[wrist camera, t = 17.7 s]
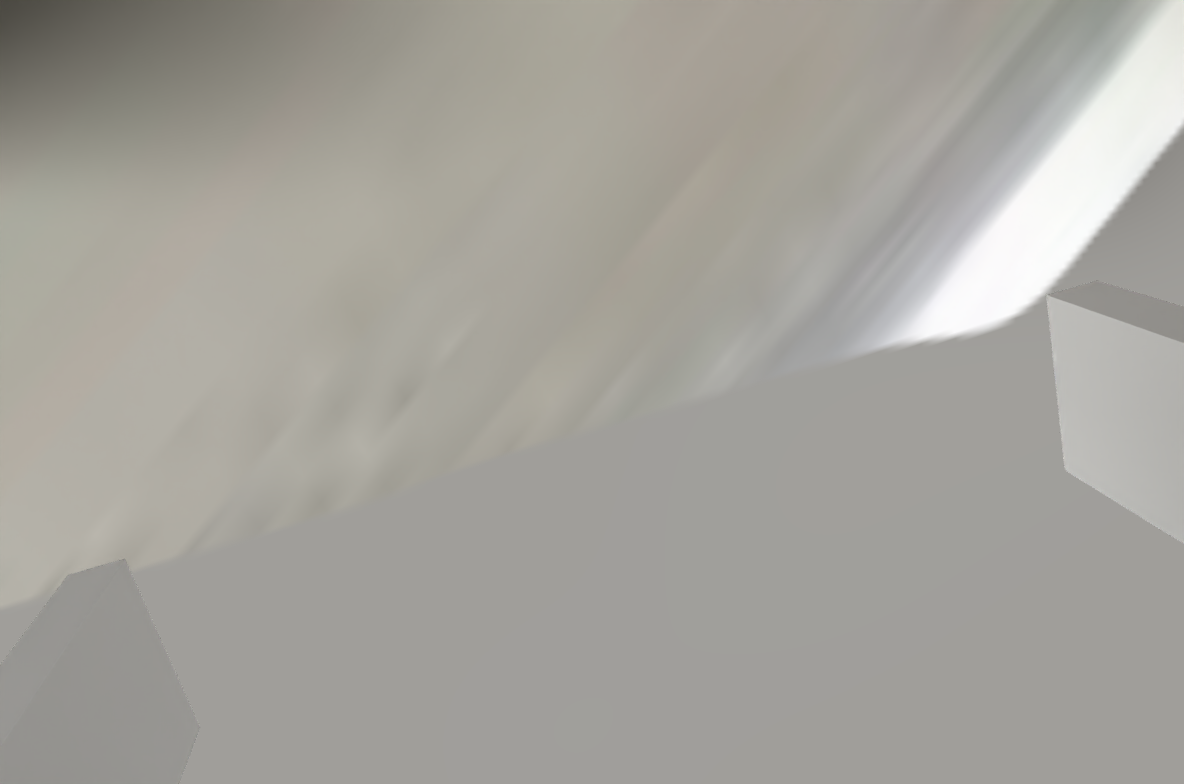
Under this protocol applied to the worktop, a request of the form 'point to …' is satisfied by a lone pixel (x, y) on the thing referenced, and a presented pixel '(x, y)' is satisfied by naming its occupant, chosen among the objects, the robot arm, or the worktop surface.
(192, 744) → the robot arm
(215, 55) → the worktop surface
